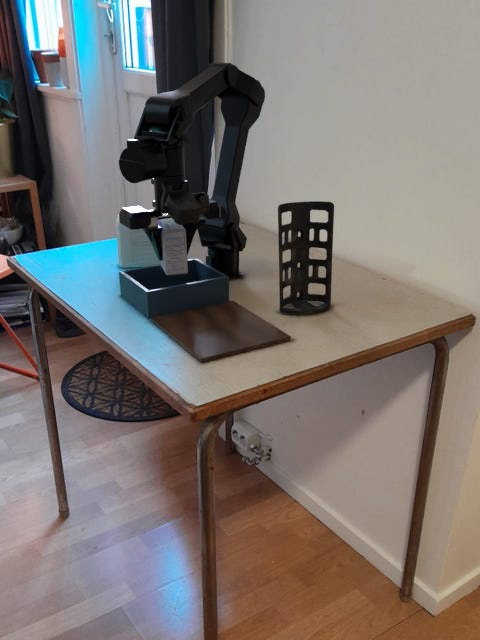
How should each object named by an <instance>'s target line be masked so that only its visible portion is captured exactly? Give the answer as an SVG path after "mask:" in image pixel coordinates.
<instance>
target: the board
mask: <svg viewBox="0 0 480 640" xmlns="http://www.w3.org/2000/svg"><path fill="white" fill-rule="evenodd" d="M149 320H150V323H151V324H153V325H154V326H155V327H157V328H158V329H159V330H160V331H161V332H162V333H164V334H165V335H167V336H168V337H169V338H170V339H171V340H173V342H175V343H176V344H178V345H179V346H180V347H181V348H182V349H184V350H185V351H186V352H187V353H188V354H190V355H191V356H192V357H194V358H195V359H196V360H197V361H198V362H199V363H202V364H203V363H206V362H209V361H210V362H211V361H214V360H218V359H222V358H225V357H229V356H235V355H237V354H238V355H239V354H242V353H246V352H250V351H253V350H259V349H262V348H266V347H270V346H274V345H277V344H281V343H286V342H290V341H291V339H292V338H291V335H289V334H287V332H284V331H283V330H282V329H280V328H278V327H276V326H275V325H273V324H272V323H270V322H268V321H267V320H265V319H264V318H263V317H260V316H259V315H257V314H255V313H254V312H252V311H250V310H249V309H248V308H246V307H244V306H243V305H241V304H240V303H238V302H236V301H235V300H229V302H224V303H219V304H214V305H209V306H205V307H200V308H195V309H190V310H185V311H181V312H176V313H171V314H166V315H161V316H156V317H152V318H150V319H149Z"/></svg>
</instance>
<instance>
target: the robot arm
mask: <svg viewBox="0 0 480 640" xmlns="http://www.w3.org/2000/svg"><path fill="white" fill-rule="evenodd" d="M215 98H218V99H219V100H220V105H219V107H220V108H219V109H220V113H221V116H222V118H223V121H224V129H223V135H222V139H221V145H220V151H219V157H218V161H217V167H216V174H215V179H214V184H213V189H212V195H211V198H210V196H209V194H208V193H207V192H206V191H202V192H197V193H191V191H190V184H189V180H186V173H185V172H186V170H185V169H186V168H185V167H186V166H185V146H188V145H190V144H192V143H191V142H192V141H191V139H190V138H189V136H186V134H185V133H186V131H188V129H189V128H190V127H191V125H192V124H193V123H194V122H195V114H197V112H198V111H199V110H200V109H202V108H204V106H206V105H207V104H208V103H210V102H211V101H212V100H214V99H215ZM265 100H266V91H265V88H264V87H263V86H262V83H261V81H259V79H256V78H255V77H254V76H252V75H249V74H248V73H246V72H244V71H242V70H241V69H240V68H238V66H237V65H235V64H234V63H231V62H220V61H219V62H217V61H215V62H211V63H210V64H209V65H208V66H207V68H206V69H204V70H203V71H202V72H200V73H199V74H198V75H196V76H195V77H193V78H192V79H190V80H189V81H187V82H186V83H185V84H183V85H181V86H180V87H179V88H177V89H175V90H172V91H166V92H161V93H158V94H154V95H151V96H150V97H149V98H148V99H147V100H146V101H145V103H144V107H143V110H142V113H141V116H140V119H139V121H138V125H137V127H136V130H135V133H134V136H133V138H130V139H127V140H126V147H125V148H124V149H123V150H122V151H121V153H120V155H119V159H118V167H119V171H120V173H121V175H122V177H123V178H124V179H125V180H126V182H129V183H131V184H138V183H143V182H146V181H150V184H151V185H153V191H154V192H153V193H154V200H152V201H151V203H152V207H153V208H155V209H146V208H144V207H142V206H140V205H134V206H126V207H121V209H120V210H119V213H118V214H119V220H120V223H121V224H122V225H124V226H126V227H127V228H129V229H131V230H137V229H143V230H144V231H145V233H146V235H147V236H148V238H149V240H150V242H151V244H152V247H153V249H154V251H155V253H156V255H157V257H158V259H159V260H160V261H162V257H163V252H162V243H161V232H162V229H163V228H162V227H160V226H158V220H160V219H161V220H167V219H174V222H175V223H176V224H178V225H182V226H183V227H184V228H185V230H186V245H187V256H188V255H189V252H190V249H191V247H192V244H193V239H194V237H195V234H196V232H197V233H198V237H199V241H200V245H201V247H203V248H204V247H205V248H207V254H206V255H205V263H206V264H208V265H210V266H211V267H213V268H215V269H216V270H218V271H220V272H222V273H223V274H225V275H227V276H229V280H232V279H236V278H242V277H243V276H244V273H242V272H240V252H243V251H244V249H245V248H246V247H247V240H248V238H247V236H246V235H245V233H244V232H243V230H242V229H241V227H240V221H241V216H240V213H239V210H238V207H237V204H236V200H237V195H238V189H239V184H240V179H241V173H242V168H243V164H244V157H245V153H246V146H247V142H248V137H249V131H250V129H251V128H252V127H253V126H254V124H255V123H256V122H257V120H258V119H259V118H260V115H261V112H262V109H263V105H264V104H265V103H264V102H265Z"/></svg>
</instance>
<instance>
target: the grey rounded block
mask: <svg viewBox="0 0 480 640" xmlns="http://www.w3.org/2000/svg"><path fill="white" fill-rule="evenodd" d="M116 216H117V217H116V220H115V231H116V245H117V259H118V267H120V268H141V267H147V266H153V265H159V264H160V263H159V259H158V257H157V255H156V253H155V251H154V249H153V247H152V244H151V242H150V240H149V238H148V236H147V235H146V233H145V231H144V230H143V229H137V230H131V229H129V228H127V227H126V226H124V225H122V224H121V223H120V220H119V213H118V214H117V215H116ZM160 220H162V219H160ZM158 221H159V220H158Z"/></svg>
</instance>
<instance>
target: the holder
mask: <svg viewBox="0 0 480 640" xmlns="http://www.w3.org/2000/svg"><path fill="white" fill-rule="evenodd" d="M311 211H325V212H326V213H327V221H326V222H320V221H311ZM288 212H291V214H290V215H291V216H290V222H289V223H285V224H283V214H285V213H288ZM334 224H335V203H333V202H331V201H323V200H321V201H320V200H318V201H317V200H314V201H313V200H312V201H310V200H309V201H294V202H285V203H281V204H279V205H278V206H277V229H278V230H277V231H278V234H277V235H278V236H277V237H278V276H279V278H278V279H279V284H278V285H279V286H278V287H279V313H281V314H284V315H285V314H286V315H290V314H297V315H298V314H309V313H311V314H315V313H321V312H326V311H327V310H329V309H330V308H331V307H332V276H333V272H332V271H333V248H334V247H333V246H334ZM311 230H313V239H312V240H310V239H311V238H310V237H311V234H310V233H311ZM322 230H323V231H326V240H325V241H324V240H321V238H320V237H321V236H320V234H321V231H322ZM283 233H284V234H283ZM289 234H290V235H289ZM299 235H300V236H299ZM283 236H284V237H283ZM289 237H290V240H289ZM283 238H284V240H283ZM283 241H284V242H283ZM311 248H315V249H323V250H325V252H326V253H325V254H326V256H325V257H326V258H325V259H321V258H310V249H311ZM288 250H290V260H287V261H284V259H283V253H284V252H285V251H288ZM298 264H299V265H298ZM311 266H312V273H311V275H310V267H311ZM320 267H322V268H325V277H323V276H322V277H321V276H319V268H320ZM289 271H290V274H289ZM289 275H290V276H289ZM310 284H319V285H324V289H325V290H324V294H320V293H309V285H310ZM287 287H289V288H290V289H289V291H290V292H289V296H286V297H284V289H286V288H287ZM310 302H317V303H321V304H319V305H314V304H312V303H310ZM290 304H292V305H293V306H294V308H293V307H292V308H291V307H290V308H289V307H286V306H288V305H290Z"/></svg>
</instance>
